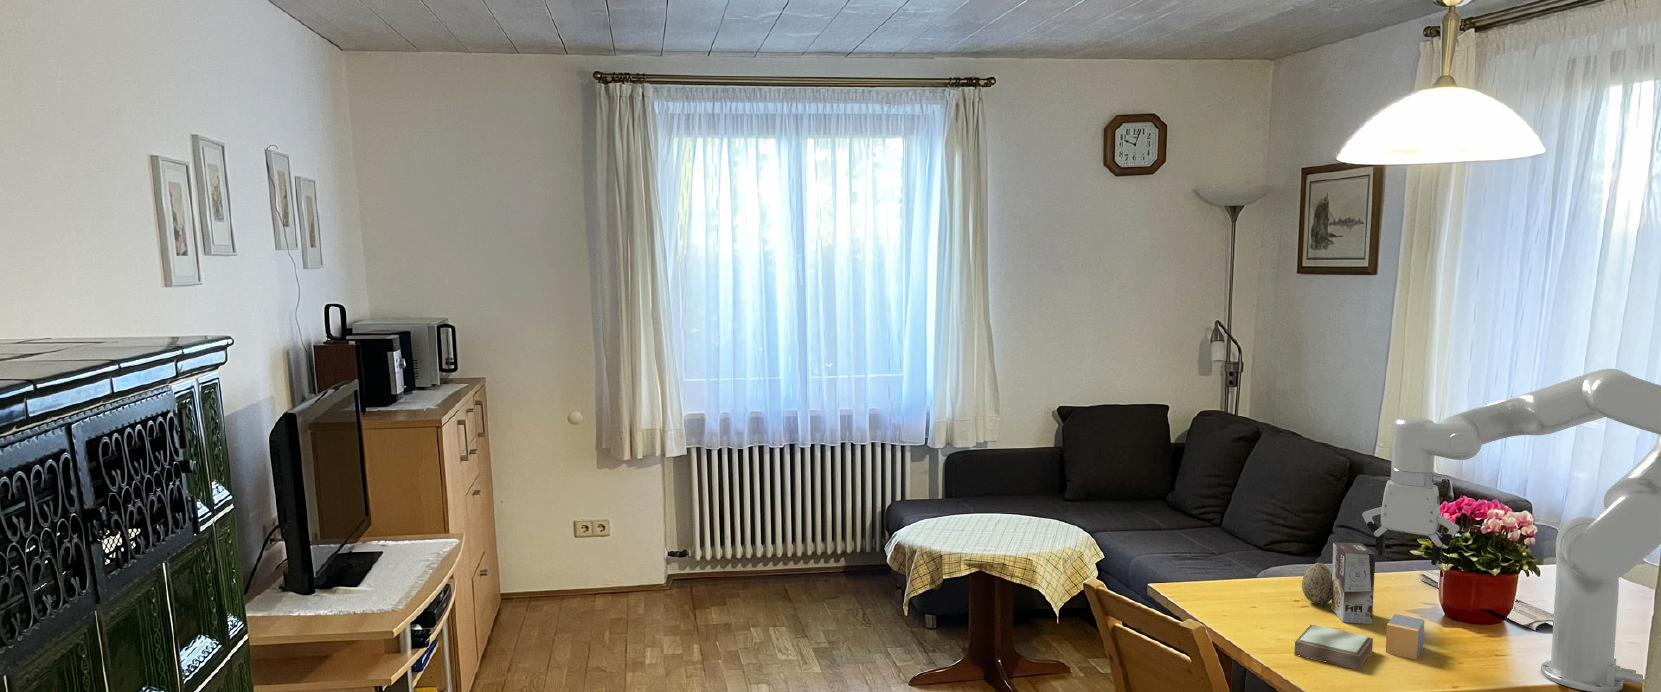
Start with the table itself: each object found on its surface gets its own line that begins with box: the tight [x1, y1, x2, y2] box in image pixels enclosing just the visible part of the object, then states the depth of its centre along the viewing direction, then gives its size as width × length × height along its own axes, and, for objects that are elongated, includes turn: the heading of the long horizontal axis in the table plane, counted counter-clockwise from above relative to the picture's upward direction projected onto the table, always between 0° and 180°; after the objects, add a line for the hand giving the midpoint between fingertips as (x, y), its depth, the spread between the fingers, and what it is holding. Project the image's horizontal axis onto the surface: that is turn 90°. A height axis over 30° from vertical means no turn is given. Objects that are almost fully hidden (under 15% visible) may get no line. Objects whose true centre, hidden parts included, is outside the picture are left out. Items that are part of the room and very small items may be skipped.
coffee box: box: [1330, 542, 1376, 625], centre depth 221 cm, size 9×6×16 cm
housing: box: [1385, 613, 1425, 660], centre depth 202 cm, size 6×8×6 cm
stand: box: [1294, 624, 1374, 671], centre depth 201 cm, size 12×12×3 cm
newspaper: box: [1414, 568, 1554, 631], centre depth 229 cm, size 35×12×4 cm, turn 9°
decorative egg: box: [1301, 562, 1332, 605], centre depth 229 cm, size 7×7×10 cm
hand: (1407, 558), depth 201 cm, fingers open, 9 cm apart
